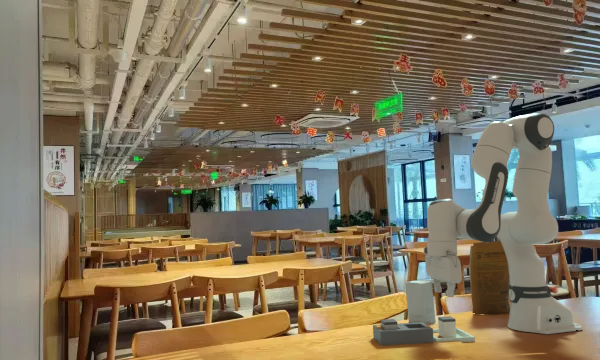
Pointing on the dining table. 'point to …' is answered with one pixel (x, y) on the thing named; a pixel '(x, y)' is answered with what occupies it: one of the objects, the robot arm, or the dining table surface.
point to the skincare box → (420, 302)
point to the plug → (447, 326)
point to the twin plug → (389, 324)
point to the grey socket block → (404, 334)
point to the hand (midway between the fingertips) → (444, 294)
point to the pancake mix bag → (489, 278)
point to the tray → (460, 336)
